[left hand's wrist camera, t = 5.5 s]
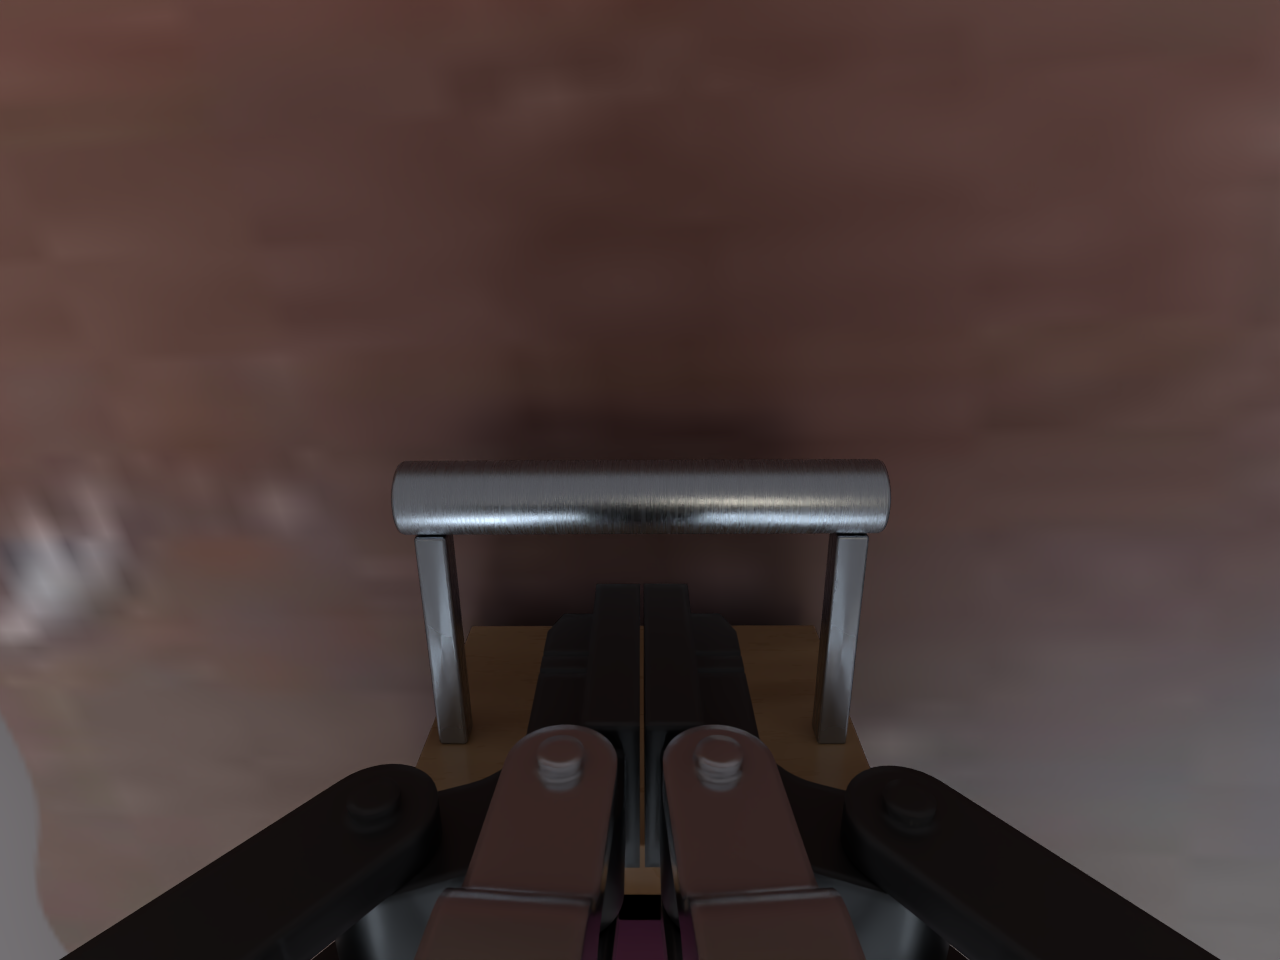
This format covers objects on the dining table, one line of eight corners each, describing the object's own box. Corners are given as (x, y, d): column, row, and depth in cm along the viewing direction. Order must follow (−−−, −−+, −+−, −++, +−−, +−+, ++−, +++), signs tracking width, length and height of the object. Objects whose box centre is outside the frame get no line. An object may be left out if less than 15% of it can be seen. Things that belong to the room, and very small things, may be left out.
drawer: (449, 401, 18) (329, 527, 11) (834, 399, 18) (950, 526, 11) (518, 1098, 27) (476, 1400, 20) (772, 1098, 27) (815, 1402, 20)
